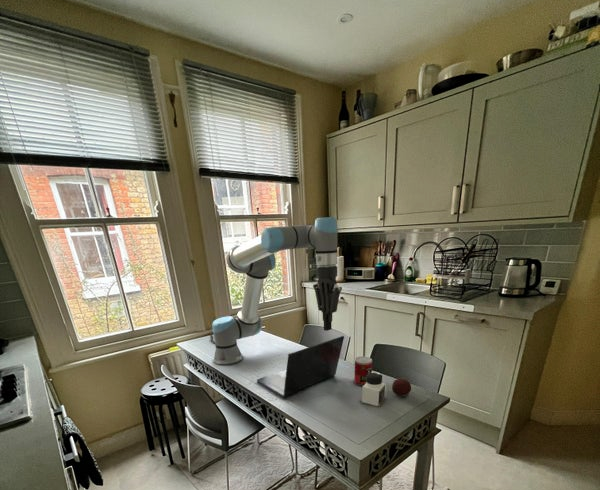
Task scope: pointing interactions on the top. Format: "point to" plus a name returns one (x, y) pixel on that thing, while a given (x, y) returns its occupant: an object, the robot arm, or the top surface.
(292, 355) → the laptop screen
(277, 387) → the laptop
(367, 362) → the canned food
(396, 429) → the top surface
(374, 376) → the medicine bottle
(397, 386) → the red apple
